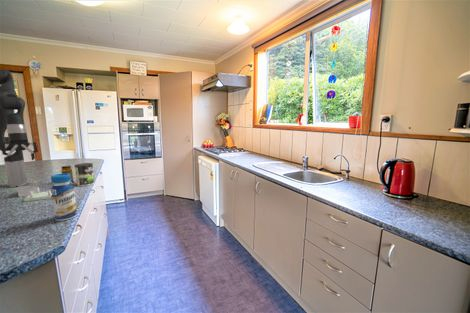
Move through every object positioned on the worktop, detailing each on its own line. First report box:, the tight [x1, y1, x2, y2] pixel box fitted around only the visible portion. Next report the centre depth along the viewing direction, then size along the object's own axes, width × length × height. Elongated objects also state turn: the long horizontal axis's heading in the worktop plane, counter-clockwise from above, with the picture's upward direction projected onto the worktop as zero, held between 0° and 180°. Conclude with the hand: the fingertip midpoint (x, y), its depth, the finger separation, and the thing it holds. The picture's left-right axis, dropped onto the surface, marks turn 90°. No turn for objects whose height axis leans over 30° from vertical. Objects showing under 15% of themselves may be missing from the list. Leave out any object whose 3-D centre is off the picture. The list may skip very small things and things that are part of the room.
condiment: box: [61, 165, 74, 184], centre depth 153 cm, size 7×8×12 cm
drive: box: [16, 180, 40, 198], centre depth 130 cm, size 12×5×6 cm, turn 22°
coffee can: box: [74, 162, 95, 187], centre depth 148 cm, size 10×10×14 cm
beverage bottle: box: [50, 173, 78, 222], centre depth 96 cm, size 8×8×20 cm
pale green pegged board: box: [23, 187, 52, 203], centre depth 124 cm, size 14×11×4 cm
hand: (22, 161), depth 122 cm, fingers open, 8 cm apart
